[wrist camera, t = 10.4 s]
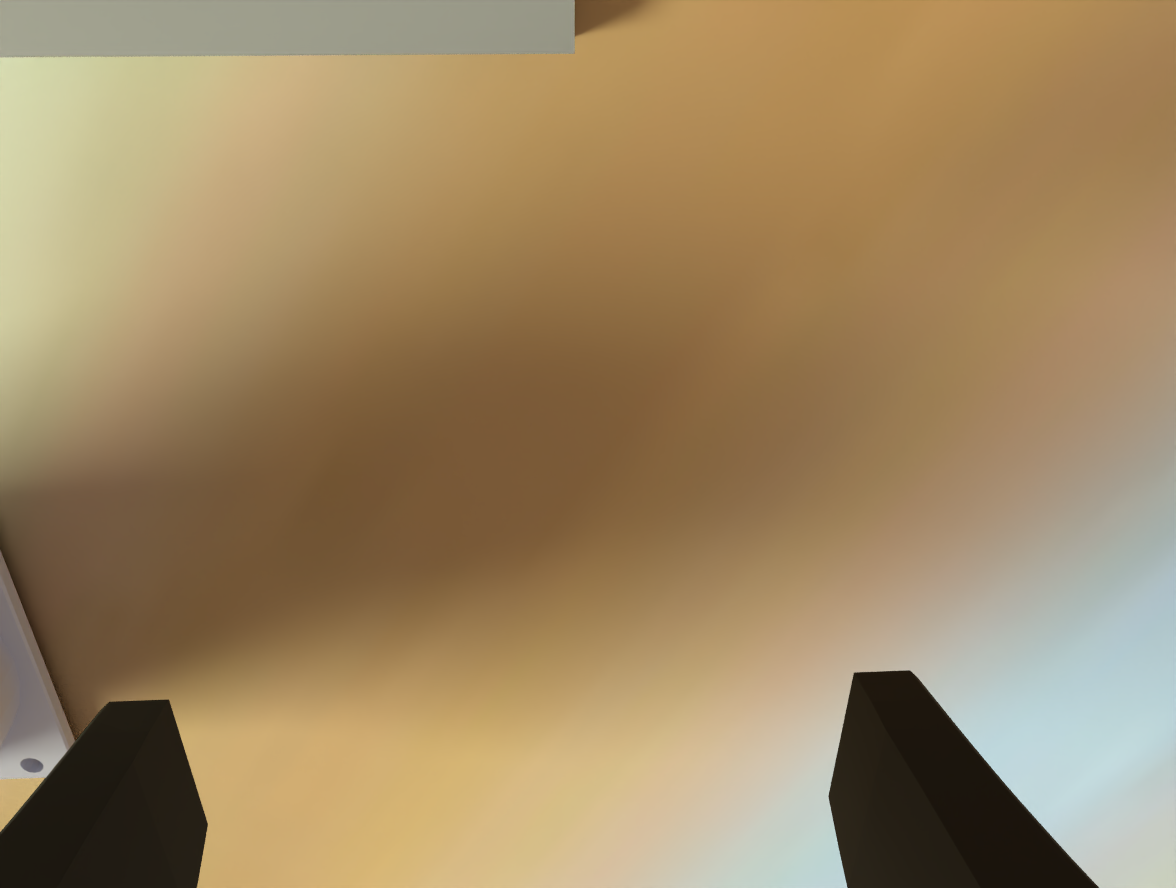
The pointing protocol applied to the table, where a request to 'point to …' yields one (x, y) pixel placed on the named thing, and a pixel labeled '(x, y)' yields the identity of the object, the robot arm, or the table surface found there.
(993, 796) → the robot arm
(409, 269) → the table surface
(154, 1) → the pin base
